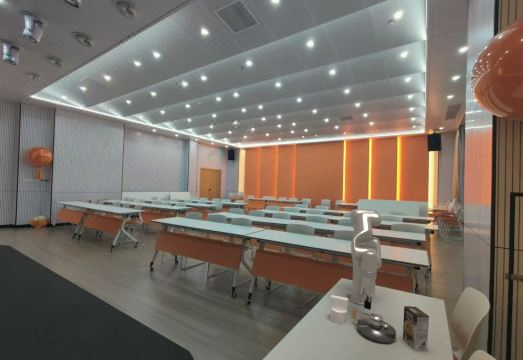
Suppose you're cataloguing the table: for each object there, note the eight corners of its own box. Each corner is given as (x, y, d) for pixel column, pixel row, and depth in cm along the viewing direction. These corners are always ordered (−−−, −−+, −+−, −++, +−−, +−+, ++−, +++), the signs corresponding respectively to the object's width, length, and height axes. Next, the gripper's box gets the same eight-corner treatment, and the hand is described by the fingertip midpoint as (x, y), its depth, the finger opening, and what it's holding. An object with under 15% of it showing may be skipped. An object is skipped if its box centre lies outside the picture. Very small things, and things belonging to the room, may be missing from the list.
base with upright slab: (329, 321, 137) (330, 299, 137) (330, 314, 145) (331, 292, 146) (346, 325, 134) (348, 302, 134) (347, 317, 142) (348, 296, 143)
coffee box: (401, 338, 125) (403, 305, 125) (414, 338, 125) (415, 305, 125) (414, 351, 116) (416, 315, 116) (428, 351, 116) (429, 315, 116)
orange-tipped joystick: (384, 327, 129) (384, 316, 129) (380, 331, 124) (380, 320, 124) (355, 315, 139) (355, 306, 139) (351, 319, 134) (351, 309, 134)
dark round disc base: (351, 332, 128) (351, 323, 128) (364, 319, 141) (364, 311, 141) (389, 349, 116) (390, 340, 116) (400, 333, 129) (400, 325, 129)
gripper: (366, 269, 147) (365, 302, 146) (356, 275, 136) (355, 310, 135) (380, 273, 142) (379, 306, 141) (371, 278, 131) (369, 315, 130)
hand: (367, 308), depth 138 cm, fingers closed
